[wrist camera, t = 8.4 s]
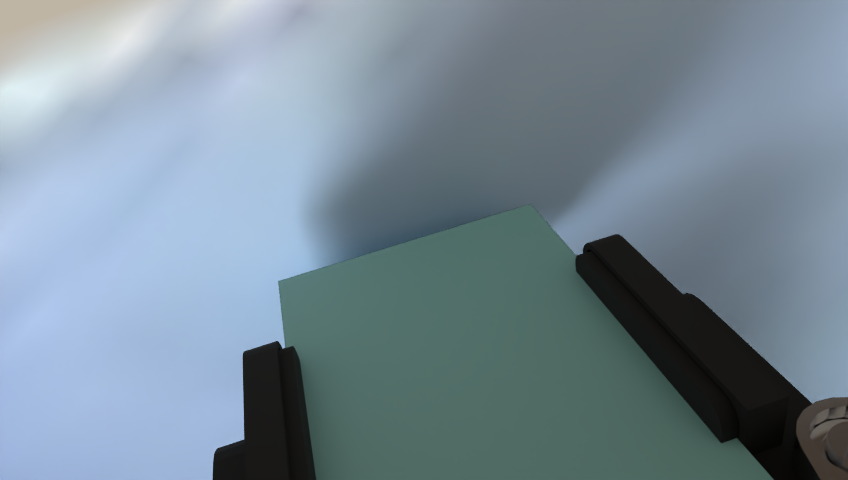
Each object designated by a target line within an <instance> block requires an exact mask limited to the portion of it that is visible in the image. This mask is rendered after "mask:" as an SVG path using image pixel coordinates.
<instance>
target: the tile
mask: <svg viewBox="0 0 848 480" xmlns="http://www.w3.org/2000/svg"><path fill="white" fill-rule="evenodd" d="M575 259H576V255H575V254H574V253H573V251H572V250H571V249H570V248H569V247H568V246H567V245H566V243H565V242H564V241H563V240H562V239H561V238H560V237H559V235H558V234H557V233H556V232H555V231H554V230H553V229H552V228H551V226H550V225H549V224H548V223H547V222H546V221H545V220H544V218H543V217H542V216H541V215H540V214H539V213H538V212H537V211H536V209H535V208H534V207H533V206H532V205H531V204H528V205H525V206H522V207H519V208H515V209H512V210H509V211H506V212H502V213H499V214H496V215H492V216H489V217H486V218H483V219H479V220H476V221H473V222H470V223H466V224H463V225H460V226H457V227H453V228H450V229H447V230H444V231H440V232H437V233H434V234H431V235H427V236H424V237H421V238H417V239H414V240H411V241H408V242H404V243H401V244H398V245H395V246H391V247H388V248H385V249H382V250H378V251H375V252H372V253H369V254H365V255H362V256H359V257H356V258H352V259H349V260H346V261H342V262H339V263H336V264H333V265H329V266H326V267H323V268H320V269H316V270H313V271H310V272H307V273H303V274H300V275H297V276H294V277H290V278H287V279H284V280H281V281H278V284H279V293H280V303H281V312H282V321H283V330H284V339H285V348H287V347H290V346H294V348H295V349H296V352H297V354H298V357H299V359H300V365H301V372H302V379H303V387H304V394H305V401H306V409H307V416H308V423H309V431H310V438H311V445H312V453H313V460H314V467H315V475H316V480H774V479H773V478H772V477H771V476H770V475H769V474H768V473H767V471H766V470H765V469H764V468H763V467H762V466H761V465H760V463H759V462H758V461H757V460H756V459H755V458H754V457H753V456H752V454H751V453H750V452H749V451H748V450H747V449H746V448H745V446H744V445H743V444H742V443H741V442H740V441H739V440H738V439H737V438H735V439H732V440H730V441H727V442H724V443H720V441H719V440H718V439H717V438H716V437H715V435H714V434H713V433H712V432H711V431H710V429H709V428H708V427H707V426H706V425H705V424H704V422H703V421H702V420H701V419H700V418H699V416H698V415H697V414H696V413H695V412H694V411H693V409H692V408H691V407H690V406H689V405H688V403H687V402H686V401H685V400H684V399H683V397H682V396H681V395H680V394H679V393H678V392H677V390H676V389H675V388H674V387H673V386H672V384H671V383H670V382H669V381H668V380H667V379H666V377H665V376H664V375H663V374H662V373H661V371H660V370H659V369H658V368H657V367H656V365H655V364H654V363H653V362H652V361H651V360H650V358H649V357H648V356H647V355H646V354H645V352H644V351H643V350H642V349H641V348H640V347H639V345H638V344H637V343H636V342H635V341H634V339H633V338H632V337H631V336H630V335H629V333H628V332H627V331H626V330H625V329H624V328H623V326H622V325H621V324H620V323H619V322H618V320H617V319H616V318H615V317H614V316H613V315H612V313H611V312H610V311H609V310H608V309H607V307H606V306H605V305H604V304H603V303H602V301H601V300H600V299H599V298H598V297H597V296H596V294H595V293H594V292H593V291H592V290H591V288H590V287H589V286H588V285H587V284H586V283H585V281H584V280H583V279H582V278H581V277H580V275H579V274H578V273H577V272H576V266H575Z"/></svg>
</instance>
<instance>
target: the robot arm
mask: <svg viewBox="0 0 848 480" xmlns="http://www.w3.org/2000/svg"><path fill="white" fill-rule="evenodd" d="M575 266H576V272H577V273H578V274H579V275H580V277H581V278H582V279H583V280H584V281H585V283H586V284H587V285H588V286H589V287H590V288H591V290H592V291H593V292H594V293H595V294H596V296H597V297H598V298H599V299H600V300H601V301H602V303H603V304H604V305H605V306H606V307H607V309H608V310H609V311H610V312H611V313H612V315H613V316H614V317H615V318H616V319H617V320H618V322H619V323H620V324H621V325H622V326H623V328H624V329H625V330H626V331H627V332H628V333H629V335H630V336H631V337H632V338H633V339H634V341H635V342H636V343H637V344H638V345H639V347H640V348H641V349H642V350H643V351H644V352H645V354H646V355H647V356H648V357H649V358H650V360H651V361H652V362H653V363H654V364H655V365H656V367H657V368H658V369H659V370H660V371H661V373H662V374H663V375H664V376H665V377H666V379H667V380H668V381H669V382H670V383H671V384H672V386H673V387H674V388H675V389H676V390H677V392H678V393H679V394H680V395H681V396H682V397H683V399H684V400H685V401H686V402H687V403H688V405H689V406H690V407H691V408H692V409H693V411H694V412H695V413H696V414H697V415H698V416H699V418H700V419H701V420H702V421H703V422H704V424H705V425H706V426H707V427H708V428H709V429H710V431H711V432H712V433H713V434H714V435H715V437H716V438H717V439H718V440H719V441H720V443H724V442H727V441H730V440H732V439H735V438H737V439H738V440H739V441H740V442H741V443H742V444H743V445H744V446H745V448H746V449H747V450H748V451H749V452H750V453H751V454H752V456H753V457H754V458H755V459H756V460H757V461H758V462H759V463H760V465H761V466H762V467H763V468H764V469H765V470H766V471H767V473H768V474H769V475H770V476H771V477H772V478H773V479H774V480H848V397H840V398H828V399H824V400H821V401H817V402H815V403H813V404H812V403H811V402H810V401H809V400H808V399H807V398H806V397H805V396H803V395H802V394H801V393H800V392H799V391H798V390H797V389H796V388H795V387H794V386H793V385H792V384H791V383H789V382H788V381H787V380H786V379H785V378H784V377H783V376H782V375H781V374H780V373H779V372H778V371H777V370H775V369H774V368H773V367H772V366H771V365H770V364H769V363H768V362H767V361H766V360H765V359H764V358H763V357H762V356H760V355H759V354H758V353H757V352H756V351H755V350H754V349H753V348H752V347H751V346H750V345H749V344H748V343H746V342H745V341H744V340H743V339H742V338H741V337H740V336H739V335H738V334H737V333H736V332H735V331H734V330H732V329H731V328H730V327H729V326H728V325H727V324H726V323H725V322H724V321H723V320H722V319H721V318H720V317H718V316H717V315H716V314H715V313H714V312H713V311H712V310H711V309H710V308H709V307H708V306H707V305H706V304H704V303H703V302H702V301H701V300H700V299H699V298H697V297H696V296H694V295H692V294H688V293H686V294H682V293H681V292H680V291H679V290H678V289H677V288H675V287H674V286H673V285H672V284H671V283H670V282H669V281H668V280H667V279H666V278H665V277H664V276H663V275H662V274H661V273H660V272H659V271H658V270H657V269H656V268H655V267H653V266H652V265H651V264H650V263H649V262H648V261H647V260H646V259H645V258H644V257H643V256H642V255H641V254H640V253H639V252H638V251H637V250H636V249H635V248H634V247H633V246H631V245H630V244H629V243H628V242H627V241H626V240H625V239H624V238H623V237H622V236H620V235H618V234H615V235H612V236H609V237H605V238H602V239H599V240H596V241H593V242H590V243H587V244H585V245H584V248H583V254H580V255H577V256H576V259H575ZM243 392H244V440H241V441H238V442H235V443H232V444H229V445H226V446H223V447H220V448H217V449H216V451H215V453H214V461H213V480H316V475H315V467H314V460H313V453H312V445H311V438H310V431H309V423H308V416H307V409H306V401H305V394H304V387H303V379H302V372H301V365H300V359H299V357H298V354H297V352H296V349H295V348H294V346H290V347H287V348H284V349H282V347H281V345H280V343H279V342H278V341H276V342H273V343H270V344H266V345H263V346H260V347H257V348H254V349H251V350H247V351H244V353H243Z"/></svg>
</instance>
